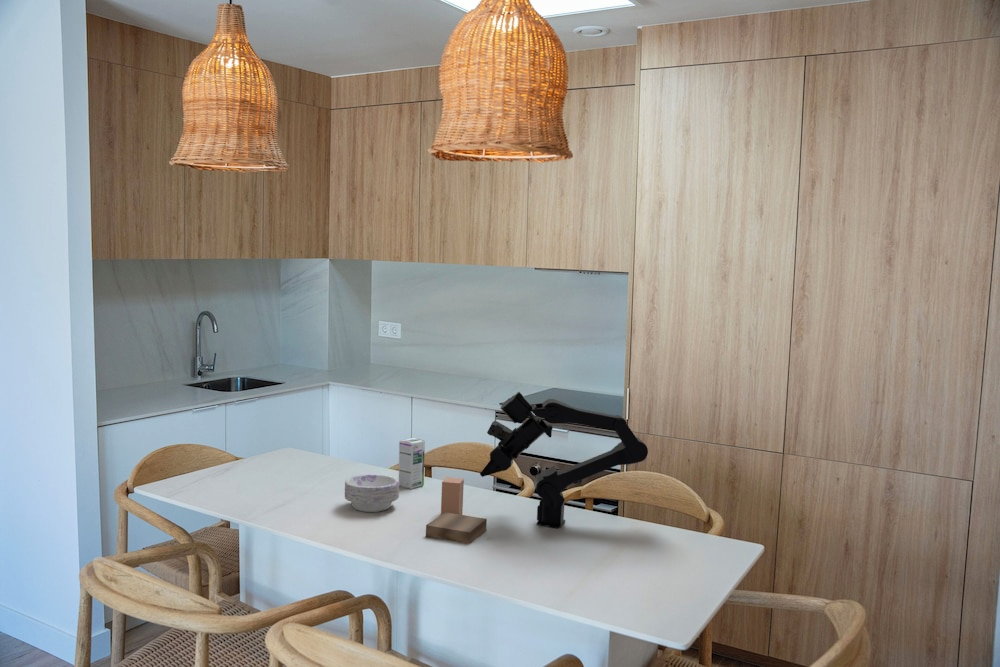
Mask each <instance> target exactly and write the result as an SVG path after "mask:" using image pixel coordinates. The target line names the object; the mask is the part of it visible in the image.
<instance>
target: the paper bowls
mask: <svg viewBox="0 0 1000 667" xmlns="http://www.w3.org/2000/svg"><path fill="white" fill-rule="evenodd" d="M399 497H400V486H399V478H396V477H394V476H390V475H385V474H361V475H355V476H354V475H353V476H351V477H349V478H347V479H345V482H344V499H345V500H346V501H348V502H350V503H351V505H352V507H353V508H354V509H355V510H357V511H360V512H366V513H377V512H378V513H379V512H383V511H386V510H387V509H389V508H390V507H391V505H392V504H393V503H394V502H395V501H397V500H398V499H399Z"/></svg>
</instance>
